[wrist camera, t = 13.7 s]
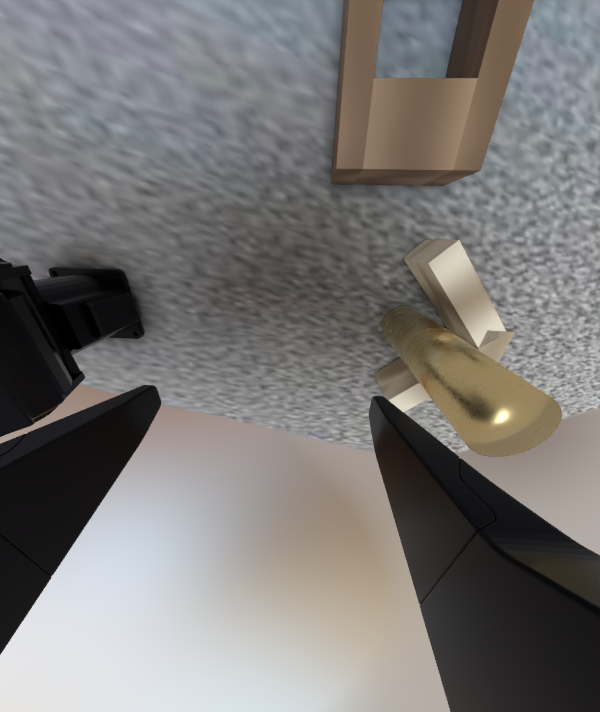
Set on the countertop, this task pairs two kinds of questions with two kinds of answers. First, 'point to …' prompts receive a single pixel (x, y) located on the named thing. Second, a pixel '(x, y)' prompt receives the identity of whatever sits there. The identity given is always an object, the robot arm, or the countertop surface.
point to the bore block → (423, 99)
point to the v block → (446, 314)
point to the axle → (471, 387)
